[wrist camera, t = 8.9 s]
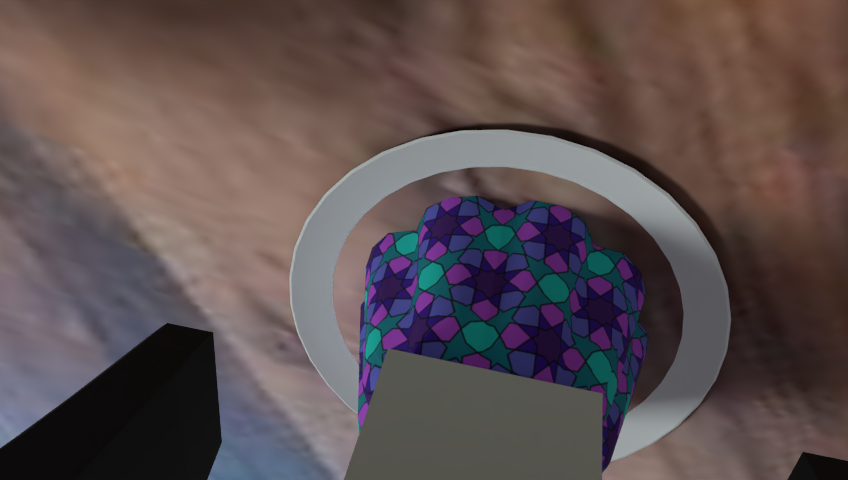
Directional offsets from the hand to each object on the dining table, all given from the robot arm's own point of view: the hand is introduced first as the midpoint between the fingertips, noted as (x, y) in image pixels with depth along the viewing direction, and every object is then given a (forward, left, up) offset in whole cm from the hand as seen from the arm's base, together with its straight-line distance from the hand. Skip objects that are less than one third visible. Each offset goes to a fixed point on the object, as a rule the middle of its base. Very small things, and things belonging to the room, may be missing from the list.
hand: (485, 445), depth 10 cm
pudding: (0, -7, -11) cm, 13 cm away
